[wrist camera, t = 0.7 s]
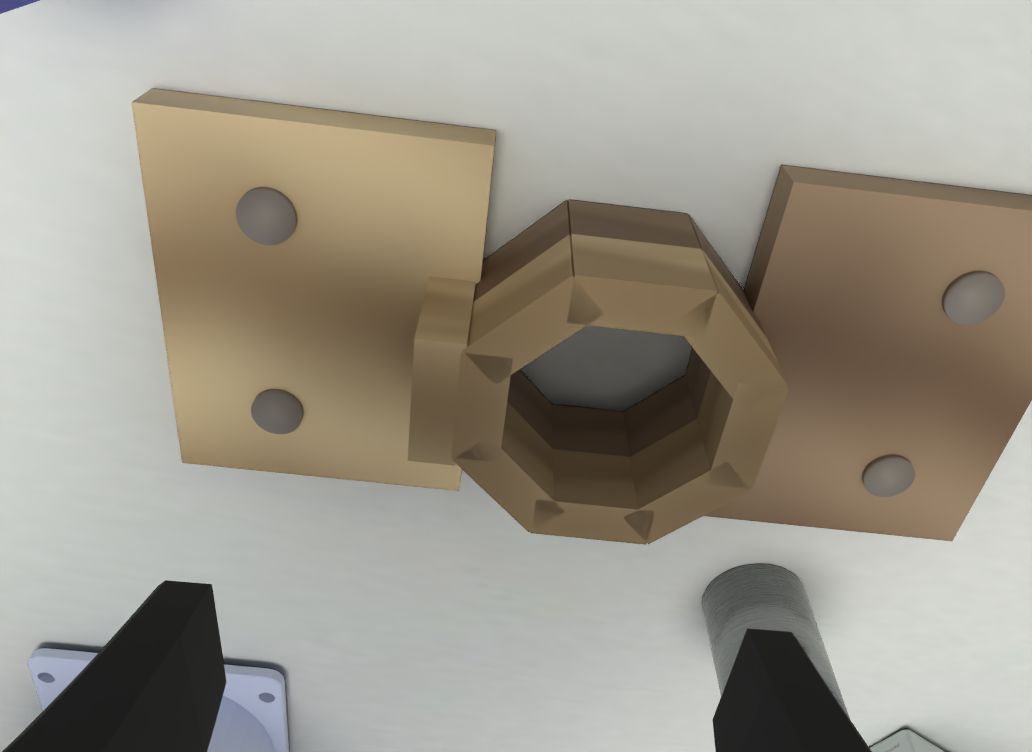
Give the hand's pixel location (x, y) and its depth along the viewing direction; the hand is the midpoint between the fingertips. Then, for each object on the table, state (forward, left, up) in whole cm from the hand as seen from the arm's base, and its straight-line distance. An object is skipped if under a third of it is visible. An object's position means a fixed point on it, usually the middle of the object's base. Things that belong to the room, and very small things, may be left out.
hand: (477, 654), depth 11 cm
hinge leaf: (0, +1, -10) cm, 10 cm away
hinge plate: (0, -6, -10) cm, 11 cm away
